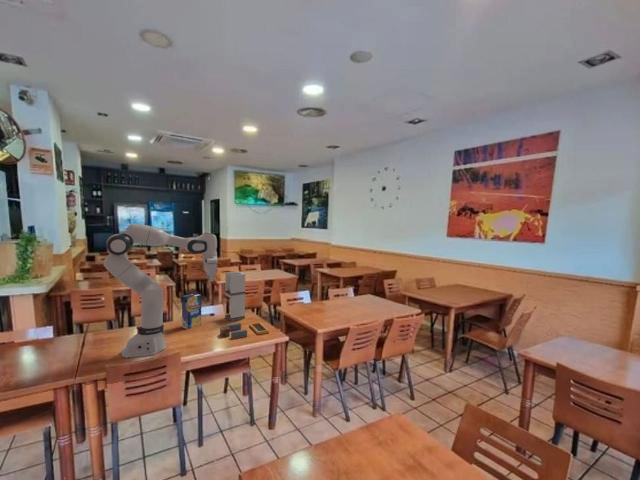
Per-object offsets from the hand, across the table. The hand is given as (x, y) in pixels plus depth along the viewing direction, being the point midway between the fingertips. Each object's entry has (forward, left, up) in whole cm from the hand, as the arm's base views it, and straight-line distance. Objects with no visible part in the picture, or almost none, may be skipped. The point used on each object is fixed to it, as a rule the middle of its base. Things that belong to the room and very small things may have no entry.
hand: (209, 280), depth 197 cm
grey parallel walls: (+18, +1, -38) cm, 42 cm away
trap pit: (+34, +1, -38) cm, 51 cm away
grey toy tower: (+26, +33, -39) cm, 57 cm away
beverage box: (-6, +29, -39) cm, 49 cm away
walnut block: (+10, +1, -38) cm, 40 cm away
